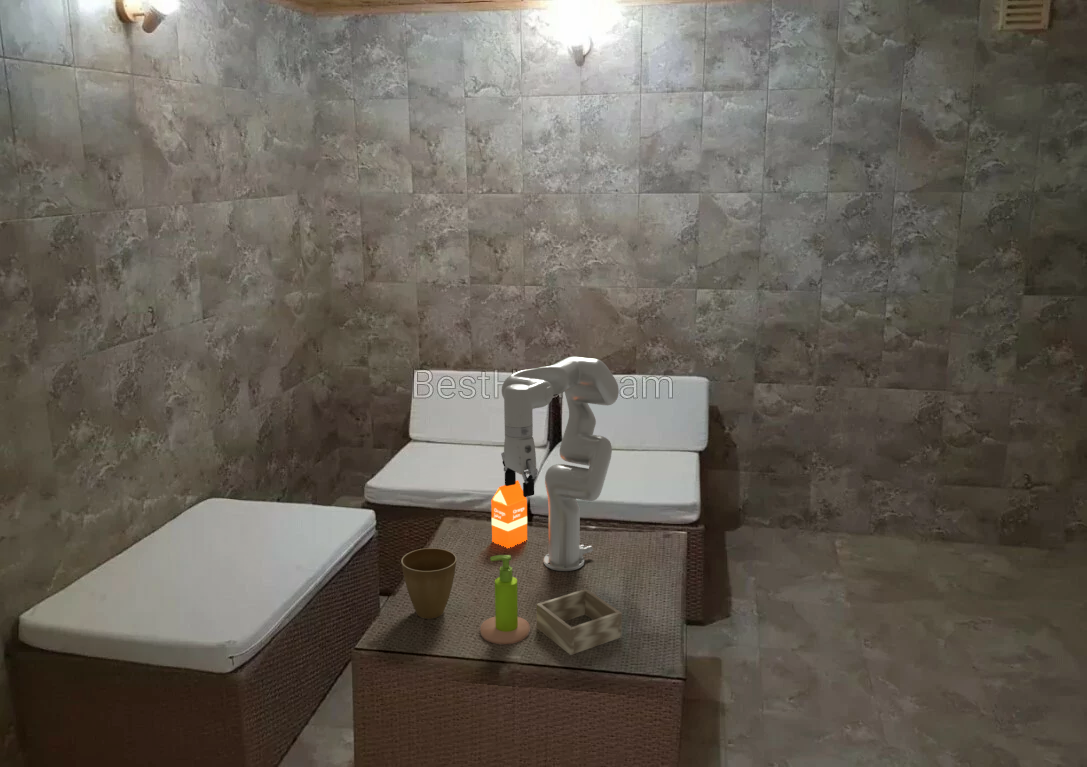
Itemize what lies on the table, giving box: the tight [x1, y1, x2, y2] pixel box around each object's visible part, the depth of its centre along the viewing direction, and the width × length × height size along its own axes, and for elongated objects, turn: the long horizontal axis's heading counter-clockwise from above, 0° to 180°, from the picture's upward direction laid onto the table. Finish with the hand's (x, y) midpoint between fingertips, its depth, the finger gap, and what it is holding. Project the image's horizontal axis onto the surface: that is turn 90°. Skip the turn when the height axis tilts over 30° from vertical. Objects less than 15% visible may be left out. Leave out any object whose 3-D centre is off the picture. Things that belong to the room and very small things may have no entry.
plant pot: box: [400, 547, 458, 620], centre depth 247 cm, size 15×15×16 cm
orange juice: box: [490, 479, 528, 549], centre depth 292 cm, size 8×9×20 cm
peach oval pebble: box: [479, 616, 531, 645], centre depth 239 cm, size 13×13×1 cm
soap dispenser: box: [489, 554, 519, 632], centre depth 237 cm, size 6×7×20 cm
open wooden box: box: [536, 588, 623, 656], centre depth 237 cm, size 16×16×7 cm
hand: (519, 490), depth 247 cm, fingers open, 9 cm apart
